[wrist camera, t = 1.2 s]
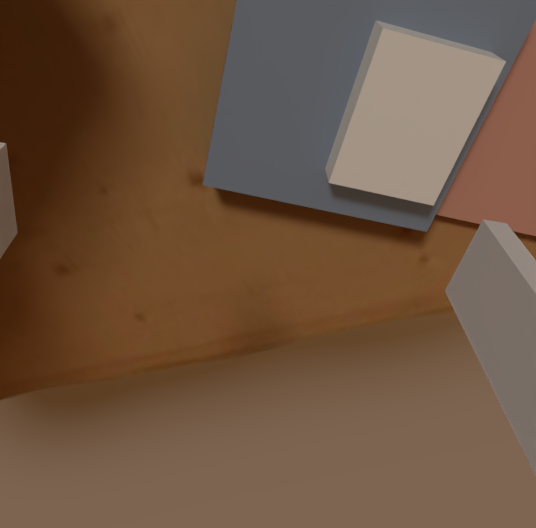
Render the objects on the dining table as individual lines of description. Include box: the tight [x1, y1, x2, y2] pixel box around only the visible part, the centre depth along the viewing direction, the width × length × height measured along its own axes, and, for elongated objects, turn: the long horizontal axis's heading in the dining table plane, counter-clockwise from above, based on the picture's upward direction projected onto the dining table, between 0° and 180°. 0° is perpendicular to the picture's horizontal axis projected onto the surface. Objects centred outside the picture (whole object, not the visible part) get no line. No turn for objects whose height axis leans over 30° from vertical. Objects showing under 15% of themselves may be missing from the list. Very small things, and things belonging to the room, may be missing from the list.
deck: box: [203, 0, 536, 232], centre depth 31 cm, size 16×15×3 cm
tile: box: [325, 20, 506, 206], centre depth 29 cm, size 7×9×2 cm
